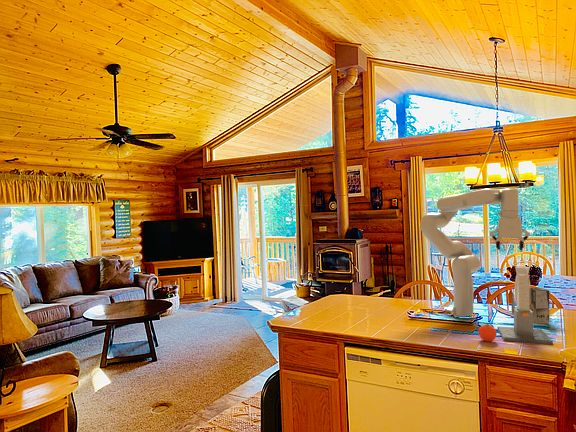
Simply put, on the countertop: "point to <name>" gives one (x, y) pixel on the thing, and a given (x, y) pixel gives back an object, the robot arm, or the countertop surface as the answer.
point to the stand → (524, 330)
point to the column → (523, 292)
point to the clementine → (487, 332)
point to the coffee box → (539, 304)
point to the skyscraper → (519, 270)
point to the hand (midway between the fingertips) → (509, 249)
